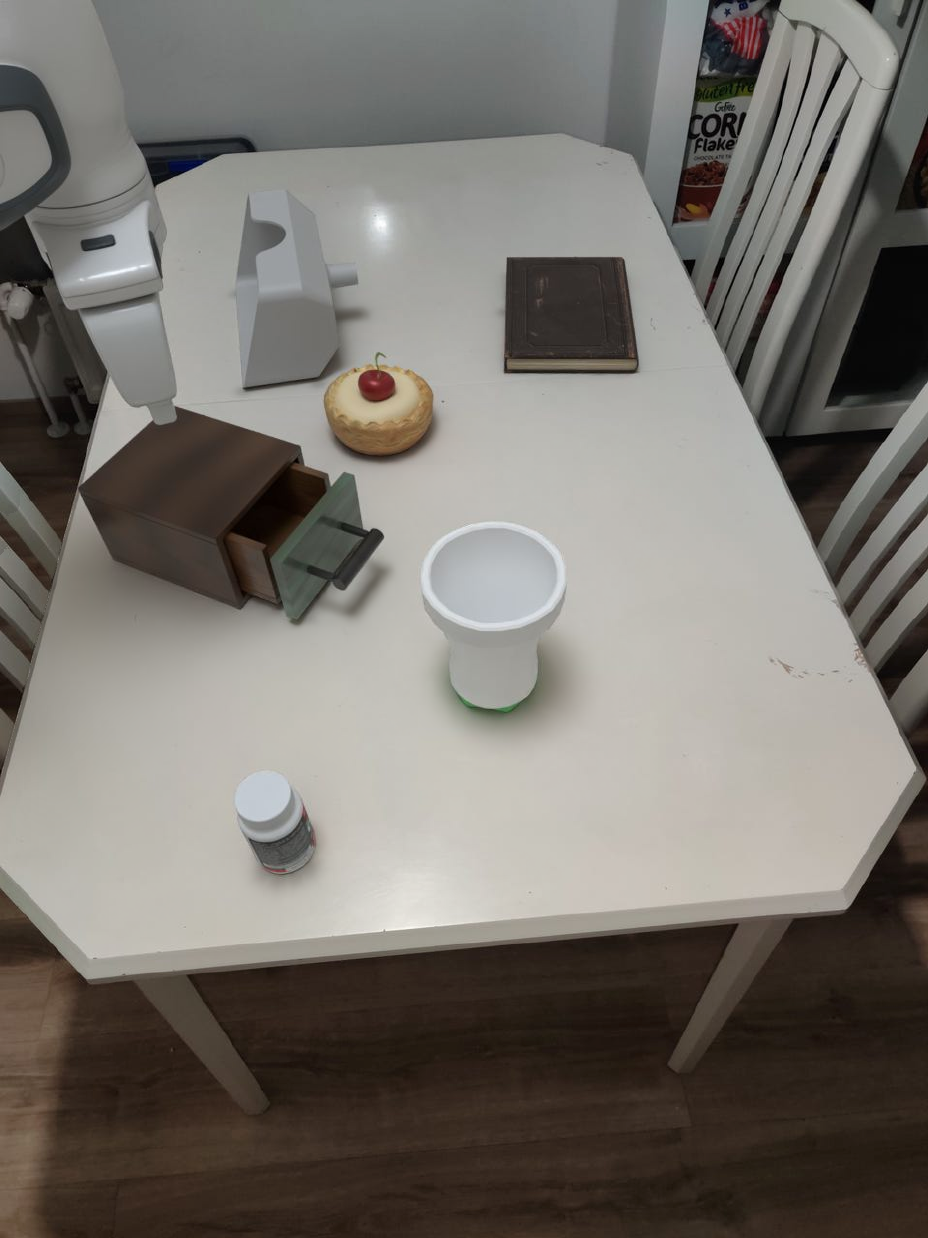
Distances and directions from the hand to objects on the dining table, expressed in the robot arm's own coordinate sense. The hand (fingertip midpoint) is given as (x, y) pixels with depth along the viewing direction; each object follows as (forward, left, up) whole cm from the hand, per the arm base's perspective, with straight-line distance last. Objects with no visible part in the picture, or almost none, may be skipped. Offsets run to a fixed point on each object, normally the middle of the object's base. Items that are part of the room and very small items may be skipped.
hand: (158, 384), depth 72 cm
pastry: (+6, +23, -20) cm, 32 cm away
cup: (+32, -3, -20) cm, 38 cm away
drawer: (+7, +1, -19) cm, 21 cm away
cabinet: (-1, +1, -20) cm, 20 cm away
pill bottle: (+24, -24, -20) cm, 39 cm away
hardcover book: (+16, +53, -20) cm, 59 cm away
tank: (-14, +37, -20) cm, 45 cm away
